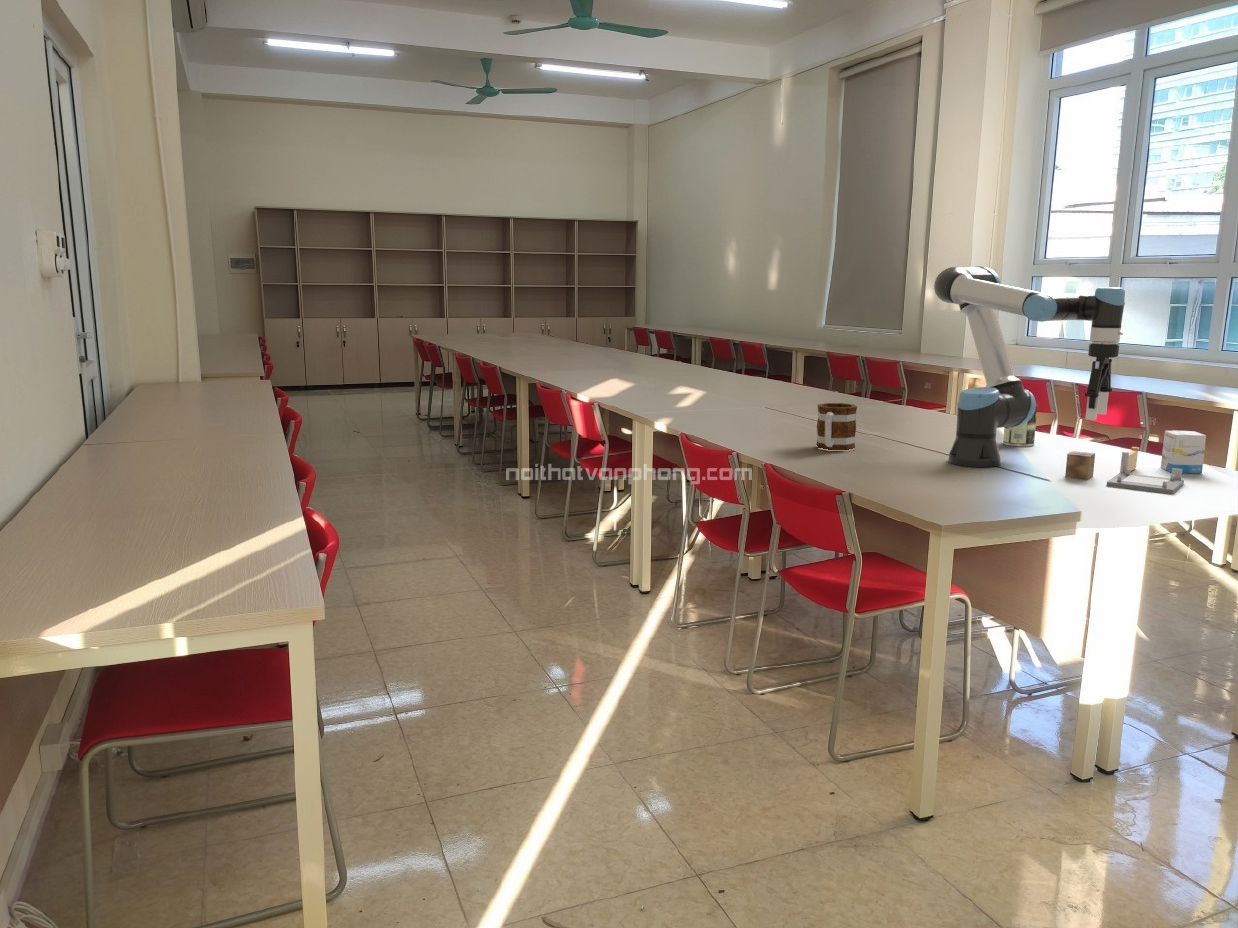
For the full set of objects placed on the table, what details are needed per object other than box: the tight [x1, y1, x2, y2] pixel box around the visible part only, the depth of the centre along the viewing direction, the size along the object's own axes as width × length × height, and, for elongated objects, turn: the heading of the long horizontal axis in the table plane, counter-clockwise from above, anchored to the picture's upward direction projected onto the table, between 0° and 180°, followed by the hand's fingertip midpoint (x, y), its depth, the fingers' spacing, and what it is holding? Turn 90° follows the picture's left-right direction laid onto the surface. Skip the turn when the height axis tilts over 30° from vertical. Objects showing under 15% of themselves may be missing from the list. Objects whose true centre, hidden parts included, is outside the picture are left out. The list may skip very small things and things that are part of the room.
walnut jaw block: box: [1064, 450, 1096, 481], centre depth 260 cm, size 6×6×7 cm
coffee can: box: [1002, 404, 1039, 447], centre depth 313 cm, size 10×10×14 cm
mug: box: [815, 402, 858, 450], centre depth 304 cm, size 20×14×15 cm
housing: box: [1106, 451, 1185, 495], centre depth 250 cm, size 16×18×7 cm
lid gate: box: [1127, 446, 1140, 473], centre depth 267 cm, size 12×2×6 cm, turn 139°
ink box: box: [1160, 430, 1207, 474], centre depth 267 cm, size 8×8×12 cm
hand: (1095, 417), depth 257 cm, fingers open, 13 cm apart
